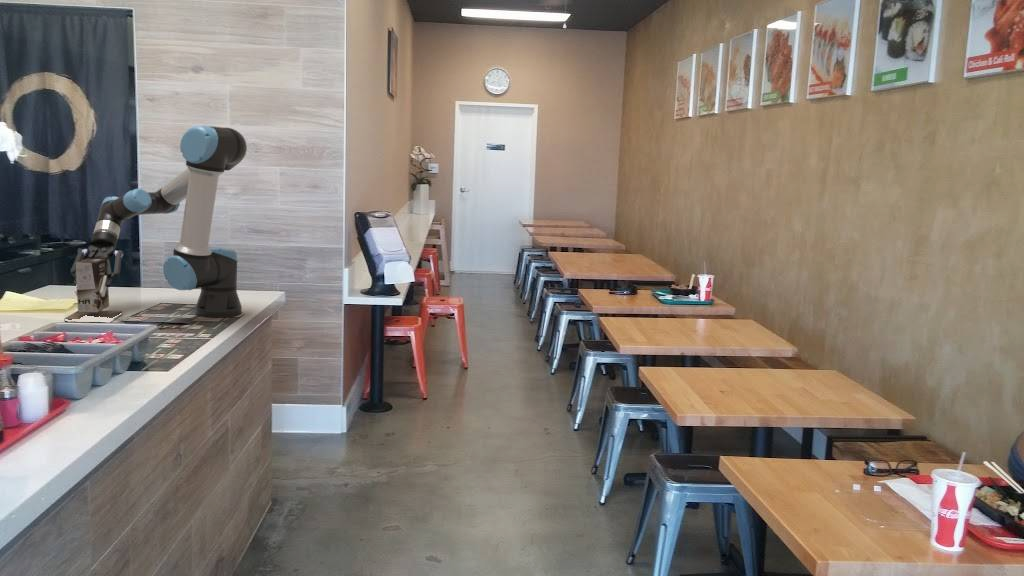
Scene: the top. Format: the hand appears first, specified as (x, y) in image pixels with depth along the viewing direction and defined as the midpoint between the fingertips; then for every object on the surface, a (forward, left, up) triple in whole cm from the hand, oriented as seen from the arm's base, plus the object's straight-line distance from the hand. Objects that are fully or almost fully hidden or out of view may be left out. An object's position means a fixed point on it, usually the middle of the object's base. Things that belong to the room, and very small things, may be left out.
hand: (89, 293), depth 241 cm
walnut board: (0, -3, -9) cm, 9 cm away
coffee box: (0, -3, -6) cm, 7 cm away
